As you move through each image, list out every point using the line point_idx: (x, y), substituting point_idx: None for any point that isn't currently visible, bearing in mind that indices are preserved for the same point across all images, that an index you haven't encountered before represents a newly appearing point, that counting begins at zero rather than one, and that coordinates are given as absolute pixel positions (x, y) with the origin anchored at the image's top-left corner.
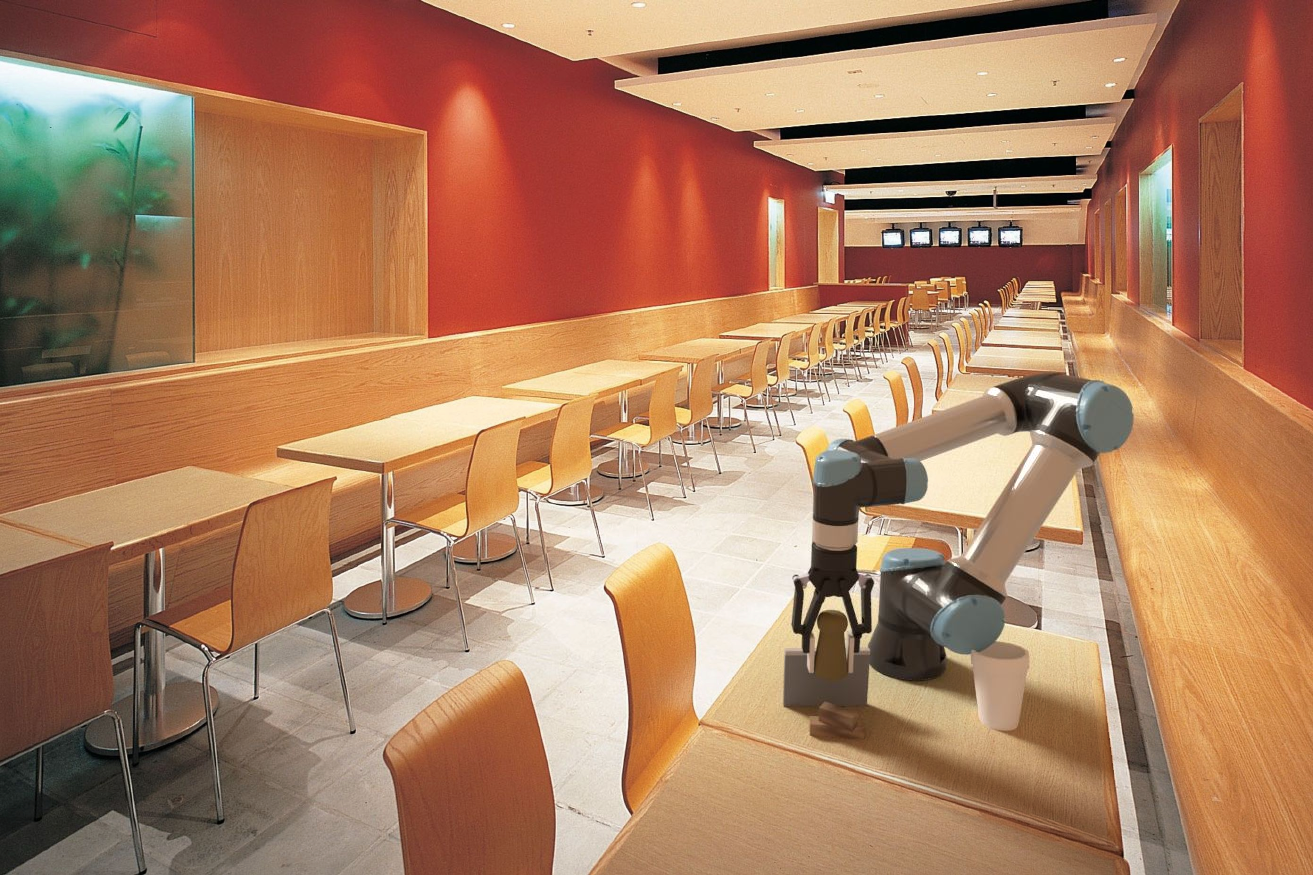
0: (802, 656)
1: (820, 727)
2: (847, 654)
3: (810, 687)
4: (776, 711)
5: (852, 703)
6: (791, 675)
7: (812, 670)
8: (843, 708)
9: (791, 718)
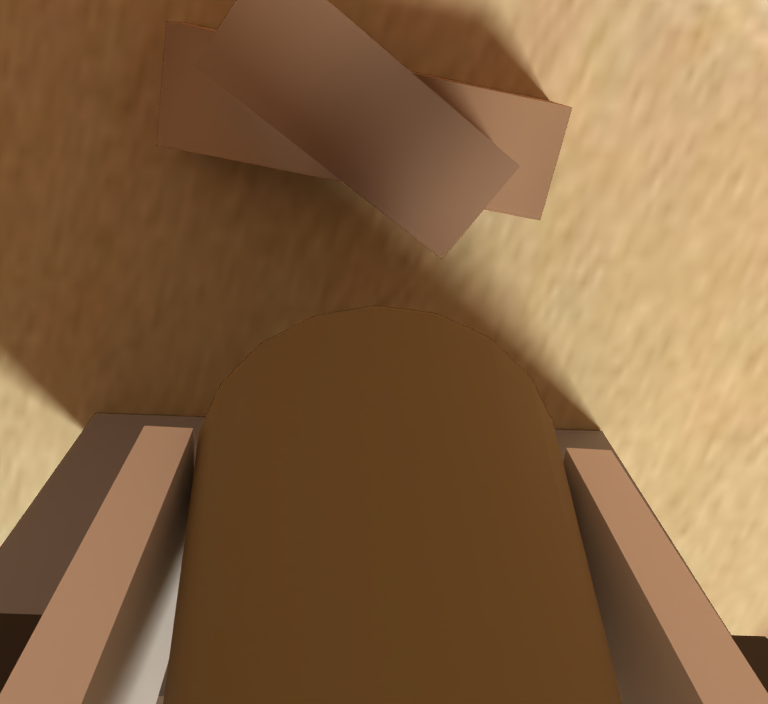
0: None
1: (494, 90)
2: (153, 620)
3: None
4: (663, 381)
5: (184, 422)
6: None
7: (589, 460)
8: (314, 133)
9: (601, 302)
